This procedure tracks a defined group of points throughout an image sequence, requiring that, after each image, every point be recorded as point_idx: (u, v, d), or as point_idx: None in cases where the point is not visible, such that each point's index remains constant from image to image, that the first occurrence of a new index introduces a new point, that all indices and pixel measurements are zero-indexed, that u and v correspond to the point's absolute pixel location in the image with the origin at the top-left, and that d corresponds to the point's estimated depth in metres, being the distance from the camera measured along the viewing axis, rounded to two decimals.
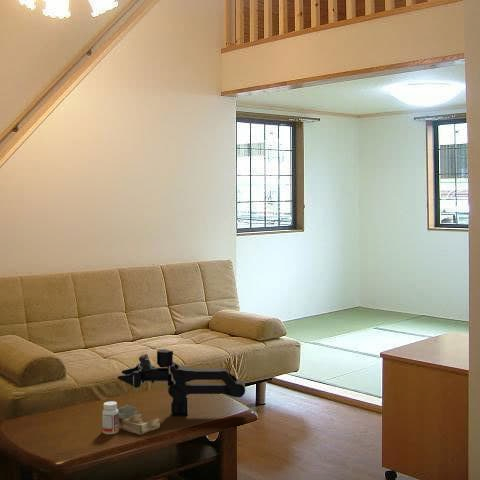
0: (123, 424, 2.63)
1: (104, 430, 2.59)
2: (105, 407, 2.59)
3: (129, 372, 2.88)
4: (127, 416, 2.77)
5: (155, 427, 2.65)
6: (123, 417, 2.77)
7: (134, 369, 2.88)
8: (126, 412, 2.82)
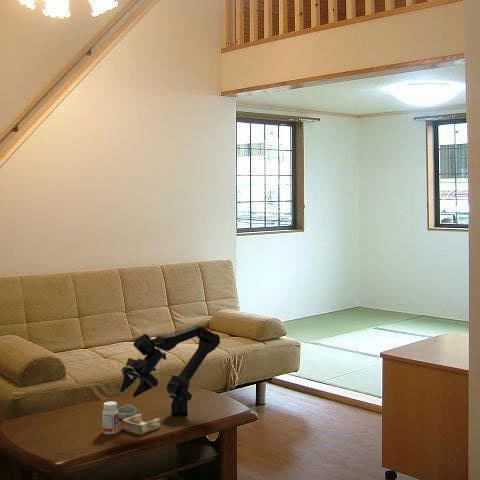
0: (123, 424, 2.63)
1: (104, 430, 2.59)
2: (105, 407, 2.59)
3: (125, 385, 2.71)
4: (127, 416, 2.77)
5: (155, 427, 2.65)
6: (123, 417, 2.77)
7: (126, 379, 2.71)
8: (126, 412, 2.82)
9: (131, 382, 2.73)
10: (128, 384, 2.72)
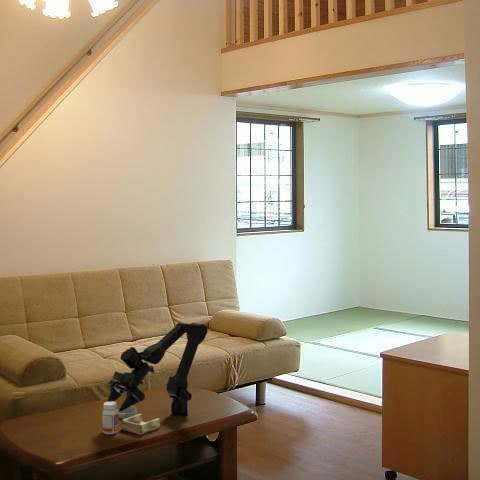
0: (123, 424, 2.63)
1: (104, 430, 2.59)
2: (105, 407, 2.59)
3: (112, 399, 2.67)
4: (127, 416, 2.77)
5: (155, 427, 2.65)
6: (123, 417, 2.77)
7: (113, 392, 2.67)
8: (126, 412, 2.82)
9: (118, 396, 2.69)
10: (115, 397, 2.68)
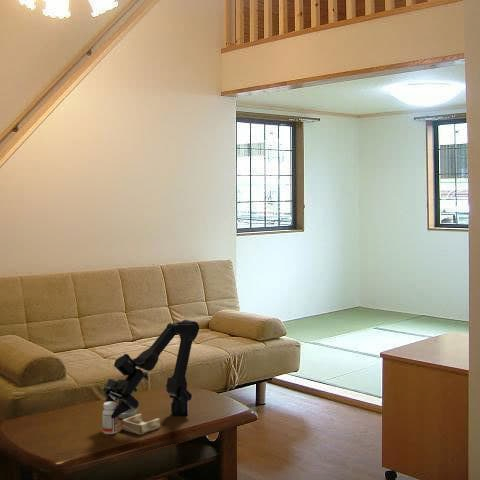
0: (123, 424, 2.63)
1: (104, 430, 2.59)
2: (105, 407, 2.59)
3: None
4: (128, 415, 2.77)
5: (155, 427, 2.65)
6: (124, 417, 2.77)
7: (109, 400, 2.65)
8: (126, 412, 2.82)
9: None
10: None
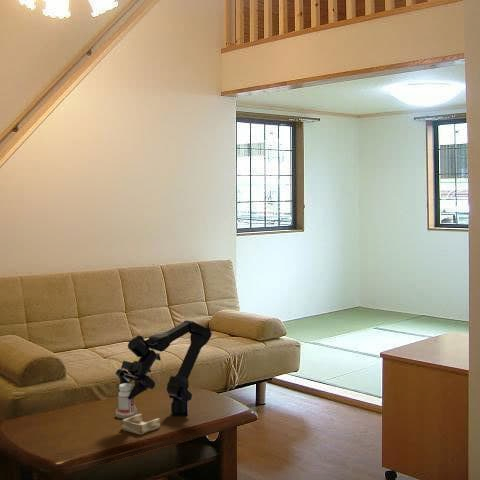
0: (123, 424, 2.63)
1: (121, 412, 2.61)
2: (121, 389, 2.60)
3: None
4: (128, 415, 2.77)
5: (155, 427, 2.65)
6: (124, 416, 2.78)
7: (123, 382, 2.66)
8: None
9: None
10: None
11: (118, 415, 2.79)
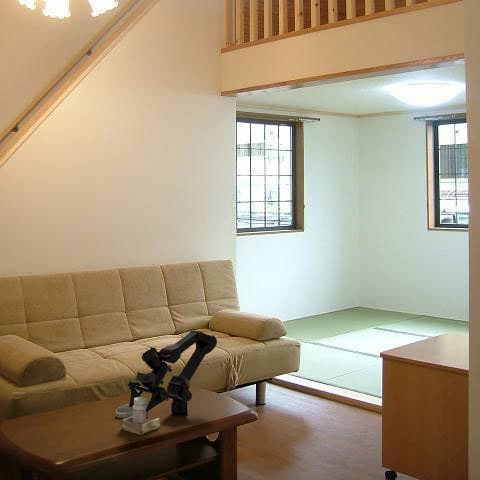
0: (123, 424, 2.63)
1: None
2: (137, 402, 2.63)
3: None
4: (128, 415, 2.78)
5: (155, 427, 2.65)
6: (124, 416, 2.78)
7: (134, 393, 2.69)
8: (126, 411, 2.83)
9: (138, 396, 2.71)
10: None
11: (118, 415, 2.79)
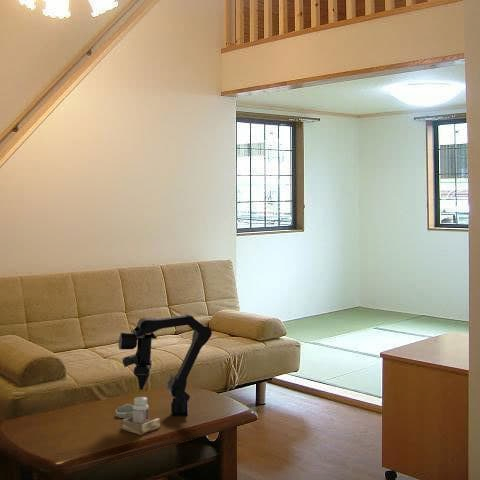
0: (123, 424, 2.63)
1: None
2: (137, 402, 2.63)
3: None
4: (128, 415, 2.78)
5: (155, 427, 2.65)
6: (124, 416, 2.78)
7: None
8: (126, 411, 2.83)
9: None
10: None
11: (118, 415, 2.79)
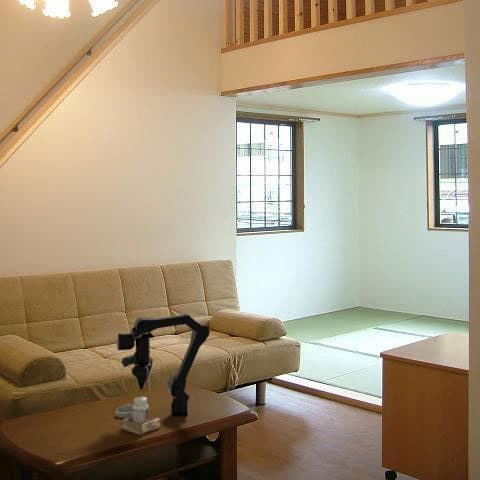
0: (123, 424, 2.63)
1: None
2: (137, 402, 2.63)
3: None
4: (128, 415, 2.78)
5: (155, 427, 2.65)
6: (124, 416, 2.78)
7: None
8: (126, 411, 2.83)
9: (148, 369, 2.83)
10: None
11: (118, 415, 2.79)
